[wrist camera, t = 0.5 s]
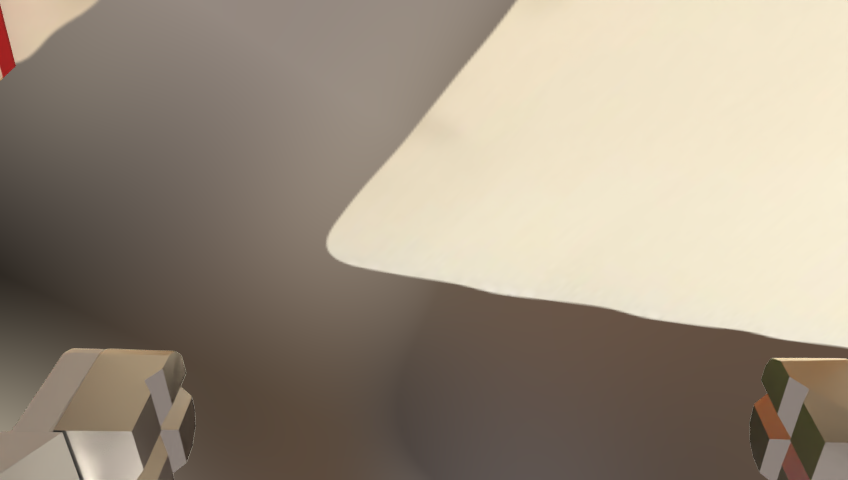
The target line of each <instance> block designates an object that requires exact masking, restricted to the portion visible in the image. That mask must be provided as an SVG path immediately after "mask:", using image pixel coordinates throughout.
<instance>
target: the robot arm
mask: <svg viewBox="0 0 848 480" xmlns="http://www.w3.org/2000/svg"><path fill="white" fill-rule="evenodd" d="M185 375H186V370H185V366H184V363H183V359H182V356H181V354H179V353H177V352H176V351H161V350H131V349H106V350H105V349H84V348H72V349H70V350H69V351H67V352H65V353H64V354H63V355H62V356H61V357H60V359H59V360H58V362H57V363H56V365H55V366H54V368H53V370H52V371H51V372H50V374H49V375H48V377H47V378H46V380H45V381H44V383H43V384H42V386H41V388H40V389H39V390H38V392H37V393H36V395H35V396H34V398H33V399H32V401H31V402H30V404H29V405H28V407H27V408H26V410H25V411H24V413H23V414H22V416H21V417H20V419H19V420H18V422H17V423H16V425H15V426H14V428H13V429H12V431H0V480H174V476H173V473H174V472H175V471H177V470H178V469H179V468H180V467H182V466H183V465H184V464H185V463H187V460H188V457H189V454H190V452H191V449H192V446H193V440H194V433H195V427H196V424H195V423H196V422H195V408H194V404H193V399H192V396H191V395H190V394H188V393H187V392H186V391H185V390H184V389H183V388H182V387H181V384H182V382H183V379H184V377H185ZM761 381H762V383H763V385H764V387H765V389H766V392H767V394H766V395H765V396H764V397H763V398H761V399H760V400H759V401H758V402H756V403H755V404H754V407H753V411H752V415H751V419H750V444H751V449H752V454H753V458H754V460H755V463H756V465H757V468H758V470H759V472H760V473H761V474H762V475H763V476H765V477H766V478H767V479H768V480H848V358H846V359H842V358H771V359H770V360H769V362H768V363H767V364H766V366H765V369H764V372H763V375H762V378H761Z"/></svg>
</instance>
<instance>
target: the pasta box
mask: <svg viewBox="0 0 848 480" xmlns="http://www.w3.org/2000/svg"><path fill="white" fill-rule="evenodd" d="M15 66H16V65H15V62H14V58H13V54H12V50H11V46H10V42H9V38H8V34H7V30H6V26H5V22H4V18H3V14H2V10H1V6H0V80H1V79H2V78H3V77H5V76H6V75H7V74H8V73H9V72H10V71H11V70H12V69H13V68H14V67H15Z"/></svg>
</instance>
